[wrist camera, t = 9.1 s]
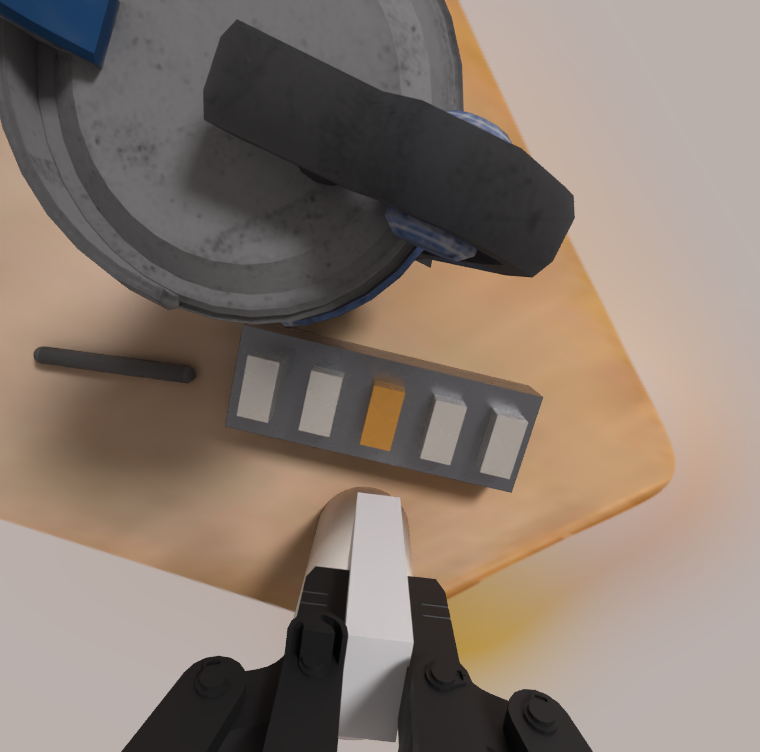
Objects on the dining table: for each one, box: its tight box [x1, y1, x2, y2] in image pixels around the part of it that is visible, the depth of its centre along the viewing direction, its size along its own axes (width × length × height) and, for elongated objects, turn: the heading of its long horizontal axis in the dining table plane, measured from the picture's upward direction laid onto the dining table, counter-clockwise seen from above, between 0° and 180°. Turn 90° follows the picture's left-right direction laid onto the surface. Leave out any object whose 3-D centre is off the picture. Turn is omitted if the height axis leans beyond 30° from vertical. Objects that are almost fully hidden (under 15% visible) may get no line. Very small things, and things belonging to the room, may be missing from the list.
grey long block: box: [225, 323, 543, 493], centre depth 32 cm, size 20×7×5 cm, turn 76°
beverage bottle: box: [0, 0, 575, 327], centre depth 20 cm, size 10×13×25 cm
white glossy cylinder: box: [284, 487, 414, 740], centre depth 30 cm, size 7×7×14 cm
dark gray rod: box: [34, 347, 196, 383], centre depth 33 cm, size 11×1×1 cm, turn 82°
